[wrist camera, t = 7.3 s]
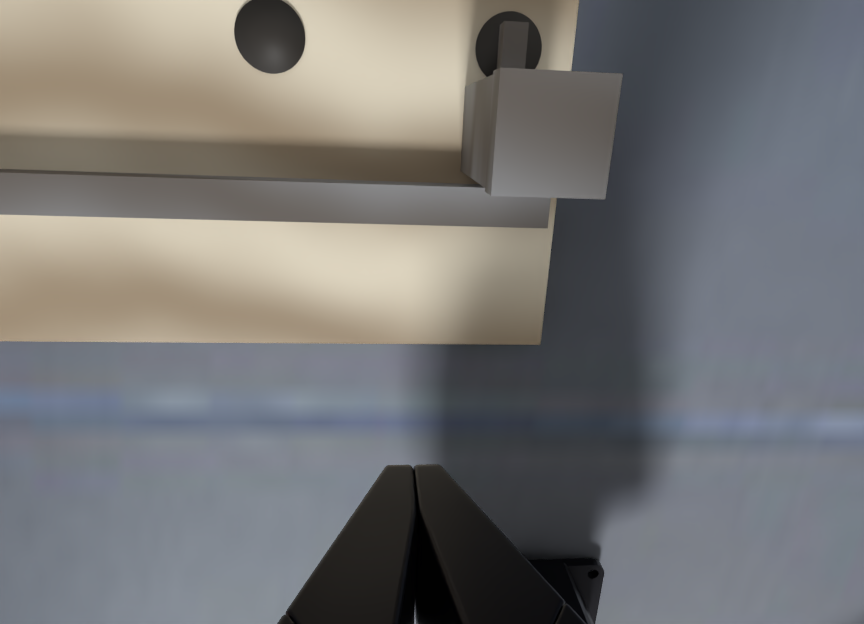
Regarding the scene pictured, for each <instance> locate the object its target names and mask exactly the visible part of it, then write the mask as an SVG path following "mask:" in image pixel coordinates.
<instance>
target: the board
mask: <svg viewBox="0 0 864 624" xmlns="http://www.w3.org/2000/svg"><path fill="white" fill-rule="evenodd" d="M578 5H579V0H0V341H55V342H202V343H350V344H497V345H540V343H541V334H542V325H543V317H544V308H545V299H546V290H547V281H548V272H549V263H550V254H551V245H552V237H553V228H554V219H555V210H556V201H557V198H575V199H605V197H606V190H607V183H608V176H609V169H610V162H611V155H612V148H613V141H614V134H615V127H616V119H617V112H618V105H619V98H620V91H621V84H622V77H623V74H619V73H599V72H579V71H571V68H572V59H573V50H574V41H575V32H576V23H577V14H578Z"/></svg>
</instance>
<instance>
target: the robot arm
mask: <svg viewBox="0 0 864 624" xmlns="http://www.w3.org/2000/svg"><path fill="white" fill-rule="evenodd" d="M591 570H593V571H591ZM589 571H591V572H589ZM603 577H604V570H603V568H602V566H601V564H600V562H599V561H598V560H596V559H592V558H589V559H553V560H527V559H526V558H525V557H524V556H523V555H522V554H521V553H520V551H519V550H518V549H517V548H516V547H515V546H514V545H513V544H512V543H511V542H510V541H509V539H508V538H507V537H506V536H505V535H504V534H503V533H502V532H501V531H500V530H499V529H498V528H497V526H496V525H495V524H494V523H493V522H492V521H491V520H490V519H489V518H488V517H487V516H486V514H485V513H484V512H483V511H482V510H481V509H480V508H479V507H478V506H477V505H476V504H475V502H474V501H473V500H472V499H471V498H470V497H469V496H468V495H467V494H466V493H465V492H464V491H463V489H462V488H461V487H460V486H459V485H458V484H457V483H456V482H455V481H454V480H453V479H452V477H451V476H450V475H449V474H448V473H447V472H446V471H445V470H444V469H443V468H442V467H441V466H440V465H438V464H427V465H416V466H414V468H412V466H410V465H388V466H386V467H385V468H384V470H383V471H382V473H381V474H380V475H379V477H378V478H377V480H376V481H375V483H374V484H373V486H372V487H371V489H370V490H369V491H368V493H367V494H366V496H365V497H364V499H363V500H362V502H361V503H360V505H359V506H358V507H357V509H356V510H355V512H354V513H353V515H352V516H351V518H350V519H349V521H348V522H347V523H346V525H345V526H344V528H343V529H342V531H341V532H340V534H339V535H338V537H337V538H336V539H335V541H334V542H333V544H332V545H331V547H330V548H329V550H328V551H327V553H326V554H325V555H324V557H323V558H322V560H321V561H320V563H319V564H318V566H317V567H316V569H315V570H314V571H313V573H312V574H311V576H310V577H309V579H308V580H307V582H306V583H305V585H304V586H303V587H302V589H301V590H300V592H299V593H298V595H297V596H296V598H295V599H294V601H293V602H292V603H291V605H290V606H289V608H288V609H287V611H286V615H283V616H282V617H281V619H280V620H279V622H278V623H277V624H414V611H415V615H416V624H595V621H596V615H597V610H598V604H599V599H600V593H601V588H602V582H603Z"/></svg>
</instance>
